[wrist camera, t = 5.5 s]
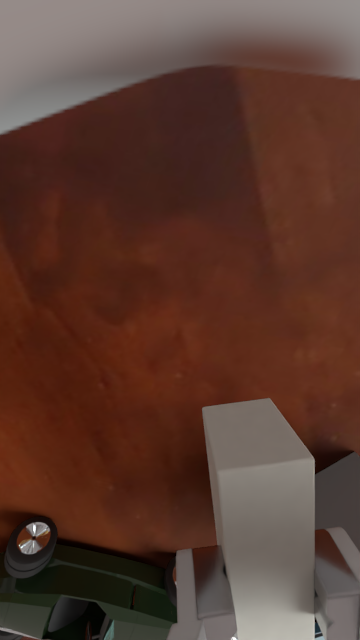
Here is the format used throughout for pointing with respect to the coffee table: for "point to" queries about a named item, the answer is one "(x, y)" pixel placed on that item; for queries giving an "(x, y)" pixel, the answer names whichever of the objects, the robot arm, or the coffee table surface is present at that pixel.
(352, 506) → the perfume bottle
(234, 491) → the knife
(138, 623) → the toy car
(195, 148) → the coffee table surface
